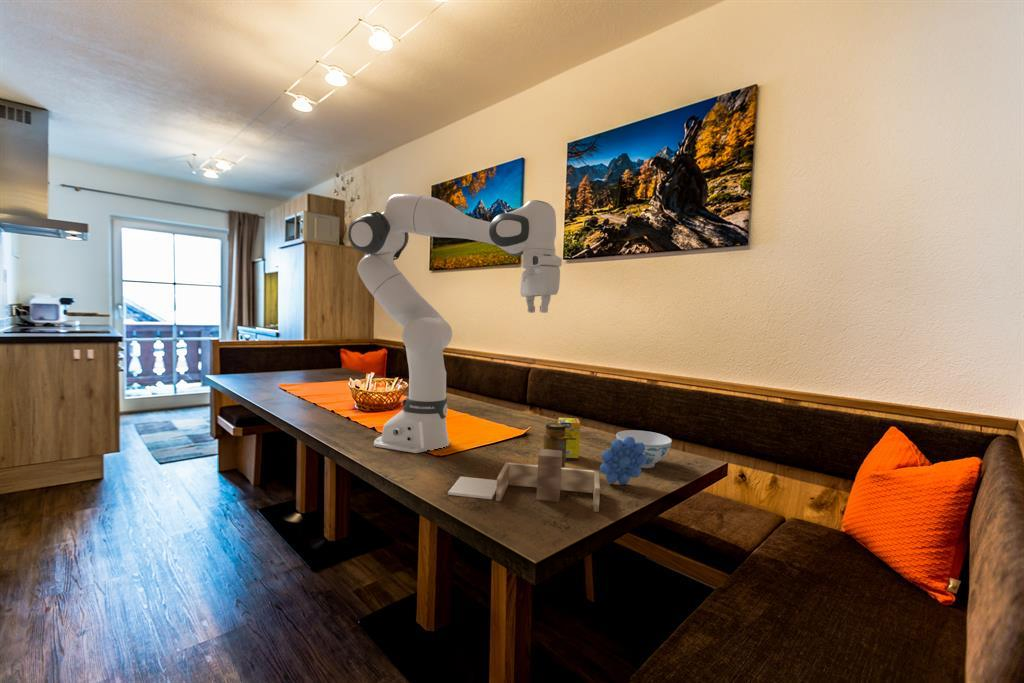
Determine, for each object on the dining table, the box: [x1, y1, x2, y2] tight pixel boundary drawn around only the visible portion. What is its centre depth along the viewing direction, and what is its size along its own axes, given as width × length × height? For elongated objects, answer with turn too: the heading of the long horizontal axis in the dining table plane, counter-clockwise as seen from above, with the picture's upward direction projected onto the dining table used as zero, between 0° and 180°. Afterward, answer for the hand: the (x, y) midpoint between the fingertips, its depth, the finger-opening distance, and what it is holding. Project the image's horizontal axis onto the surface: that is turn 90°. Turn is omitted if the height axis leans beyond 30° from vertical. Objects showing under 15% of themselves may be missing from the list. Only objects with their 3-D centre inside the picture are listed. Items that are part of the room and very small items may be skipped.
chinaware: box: [615, 429, 673, 469], centre depth 127 cm, size 15×15×8 cm
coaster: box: [447, 476, 497, 500], centre depth 105 cm, size 10×10×1 cm
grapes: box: [599, 437, 647, 485], centre depth 112 cm, size 12×7×12 cm, turn 92°
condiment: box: [542, 422, 567, 468], centre depth 119 cm, size 7×8×12 cm
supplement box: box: [557, 417, 581, 462], centre depth 131 cm, size 6×6×11 cm
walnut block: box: [535, 448, 562, 503], centre depth 102 cm, size 5×5×10 cm
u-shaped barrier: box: [495, 462, 601, 513], centre depth 102 cm, size 22×11×5 cm, turn 81°
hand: (537, 312), depth 124 cm, fingers open, 8 cm apart
